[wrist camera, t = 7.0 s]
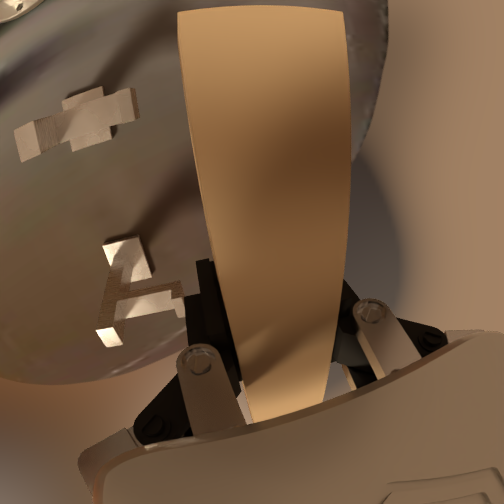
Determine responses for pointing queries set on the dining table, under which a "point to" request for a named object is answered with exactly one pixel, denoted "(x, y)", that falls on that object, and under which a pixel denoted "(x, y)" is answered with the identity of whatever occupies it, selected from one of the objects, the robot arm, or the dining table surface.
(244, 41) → the rail
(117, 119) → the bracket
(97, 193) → the dining table surface
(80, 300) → the dining table surface
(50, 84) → the dining table surface
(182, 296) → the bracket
